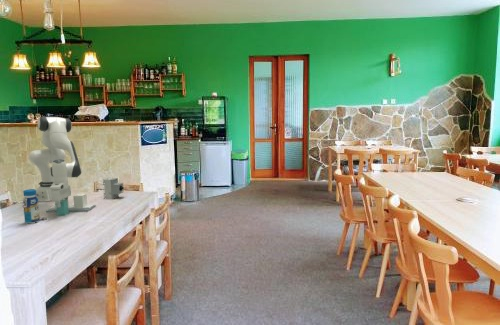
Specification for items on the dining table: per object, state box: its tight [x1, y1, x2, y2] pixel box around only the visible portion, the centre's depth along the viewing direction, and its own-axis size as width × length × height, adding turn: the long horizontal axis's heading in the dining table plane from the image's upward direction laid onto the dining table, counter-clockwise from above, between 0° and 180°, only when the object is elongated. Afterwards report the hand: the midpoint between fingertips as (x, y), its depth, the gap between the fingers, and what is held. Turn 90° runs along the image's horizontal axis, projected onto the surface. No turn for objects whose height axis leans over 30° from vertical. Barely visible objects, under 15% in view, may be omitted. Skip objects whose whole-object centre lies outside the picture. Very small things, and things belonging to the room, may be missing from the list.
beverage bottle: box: [22, 188, 41, 224], centre depth 243 cm, size 8×8×20 cm
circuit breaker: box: [102, 177, 125, 200], centre depth 307 cm, size 8×14×15 cm, turn 78°
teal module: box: [56, 199, 70, 217], centre depth 260 cm, size 5×6×9 cm
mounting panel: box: [45, 193, 97, 213], centre depth 273 cm, size 28×14×10 cm, turn 91°
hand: (62, 205), depth 260 cm, fingers open, 8 cm apart
